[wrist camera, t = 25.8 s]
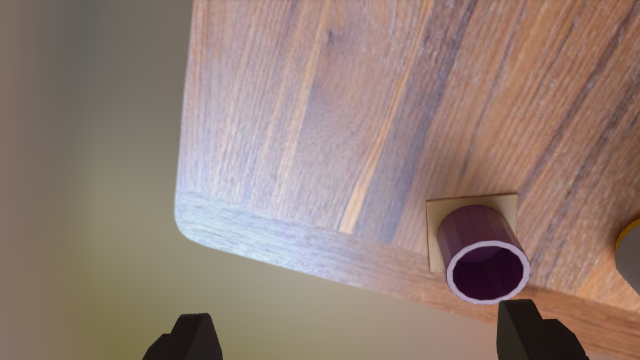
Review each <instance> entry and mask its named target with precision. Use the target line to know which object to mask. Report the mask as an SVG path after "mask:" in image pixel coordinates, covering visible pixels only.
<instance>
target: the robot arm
mask: <svg viewBox="0 0 640 360" xmlns="http://www.w3.org/2000/svg"><path fill="white" fill-rule="evenodd" d="M496 342H497V343H496V344H497V354H498V359H499V360H590V359H589V358H588V356H586V355H585V351H584V349H583V348H582V346H581V344H580V343H579V341H578V339H577V338H576V336H575V334H574V333H573V332H571V331H570V330H569V329H568V328H567V327H565V326H564V325H563V324H562V323H561V322H560V321H558V320H557V319H542V317H541V315H540V313H539V311H538V309H537V308H536V306H535V304H534V302H533V301H532V300H531V299H518V300H501V301H500V302H499V309H498V325H497V341H496ZM142 360H223V357H222V350H221V347H220V344H219V341H218V338H217V334H216V331H215V329H214V325H213V322H212V319H211V316H210V315H209V314H208V313H199V314H182V315H181V316H180V317H179V318H178V320H177V322H176V324H175V326H174V327H173V329H172V332H171V333H170V334H162V335H161V337H159V338H158V340H156V341H155V342H154V343H153V344H152V345H151V346H150V347H149V348H148V350H147V352H146V354H145V355H144V357H143V359H142Z"/></svg>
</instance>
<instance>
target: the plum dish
mask: <svg viewBox="0 0 640 360" xmlns="http://www.w3.org/2000/svg"><path fill="white" fill-rule="evenodd" d="M437 244H438V250H439V254H440V258H441V262H442V266H443V270H444V274H445V278H446V282H447V284H448V286H449V288H450V289H451V291H452V293H453V294H455V295H456V296H458V297H459V298H461V299H462V300H464V301H466V302H470V303H474V304H478V305H488V304H497V303H499V302H500V301H501V300H509V299H511V298H512V297H513V296H515V295H516V294H517V293H519V292H520V291H521V290H522V289H523V288H524V286H525V285H526V283H527V281H528V280H529V278H530V266H531V265H530V262H529V260H528V258H527V256H526V254H525V252H524V250H523V249H522V247H521V245H520V243H519V241H518V239H517V238H516V236H515V234H514V232H513V230H512V229H511V227H510V225H509V223H508V221H507V220H506V218H505V217H504V216H503V215H502V214H501V213H500V212H499V211H497V210H495V209H493V208H491V207H488V206H484V205H469V206H464V207H461V208H458V209H456V210H454V211H453V212H451V213H450V214H448V215H447V216H446V217H445V218H444V219H443V221H442V222H441V223H440V225H439V227H438V230H437Z"/></svg>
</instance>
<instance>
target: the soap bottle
mask: <svg viewBox="0 0 640 360" xmlns="http://www.w3.org/2000/svg"><path fill="white" fill-rule="evenodd" d="M615 247H616V253H615V262H616V269H617V270H618V271H619V273H620V274H621V275H622V277H623V278H624V279H625V280H626V281H627V282H628V283H629V284H630V286H631V287H632V288H633V289H634V290H635V291H636V292H637V293H638V294H639V295H640V218H639V219H637V220H636V221H634V222H632V223H630V224H629V225H628V226H627V227H626V228H625V229H624V230H623V231H622V232H621V233H620V235H619V237H618V240H617V242H616V245H615Z"/></svg>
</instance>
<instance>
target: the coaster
mask: <svg viewBox="0 0 640 360" xmlns="http://www.w3.org/2000/svg"><path fill="white" fill-rule="evenodd" d="M469 205H484V206H488V207H491V208H493V209H495V210H497V211H499V212H500V213H501V214H502V215H503V216H504V217H505V218H506V220H507V221H508V223H509V225H510V227H511V229H512V230H513V232H514V234H515V236H516V230H517V209H518V194H517V193H510V194H498V195H487V196H475V197H463V198H451V199H440V200H428V201H426V212H427V230H428V248H429V265H430V272H436V271H444V270H443V266H442V262H441V258H440V254H439V250H438V244H437V230H438V227H439V225H440V223H441V222H442V221H443V219H444V218H445V217H446V216H447V215H448V214H450V213H451V212H453V211H454V210H456V209H458V208H461V207H464V206H469Z"/></svg>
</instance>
